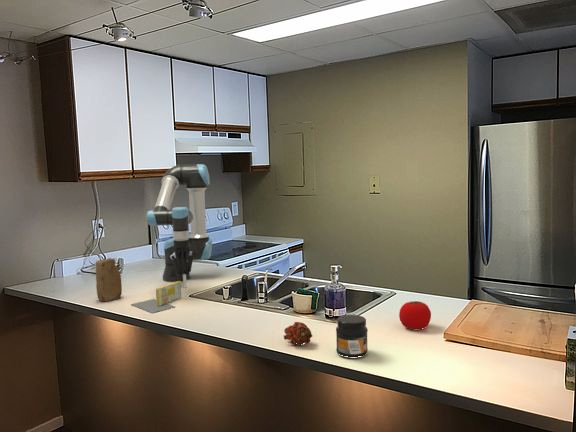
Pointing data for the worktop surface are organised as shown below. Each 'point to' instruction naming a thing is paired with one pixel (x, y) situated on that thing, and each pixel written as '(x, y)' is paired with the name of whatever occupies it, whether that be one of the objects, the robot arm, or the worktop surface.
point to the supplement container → (351, 336)
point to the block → (108, 280)
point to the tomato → (415, 315)
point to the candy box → (168, 293)
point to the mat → (152, 306)
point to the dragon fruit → (298, 333)
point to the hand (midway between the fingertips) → (183, 287)
